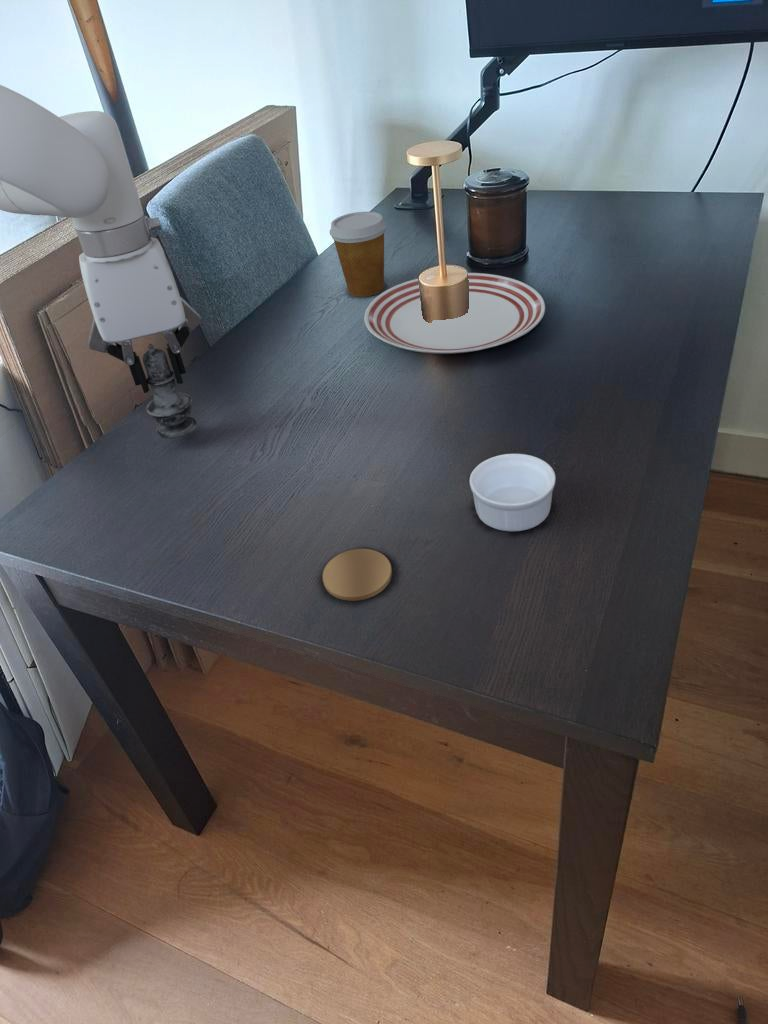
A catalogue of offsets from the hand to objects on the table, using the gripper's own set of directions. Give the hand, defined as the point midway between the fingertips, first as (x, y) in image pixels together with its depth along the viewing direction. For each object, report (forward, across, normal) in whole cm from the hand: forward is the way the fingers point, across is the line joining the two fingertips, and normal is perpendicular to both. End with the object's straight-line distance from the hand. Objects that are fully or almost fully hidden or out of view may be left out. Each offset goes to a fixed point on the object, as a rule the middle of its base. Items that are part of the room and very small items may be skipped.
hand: (162, 382), depth 96 cm
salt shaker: (+7, 0, 0) cm, 7 cm away
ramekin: (+9, -32, +34) cm, 47 cm away
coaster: (+9, -13, +36) cm, 39 cm away
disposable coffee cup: (+8, -38, -32) cm, 50 cm away
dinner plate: (+8, -44, -10) cm, 46 cm away
